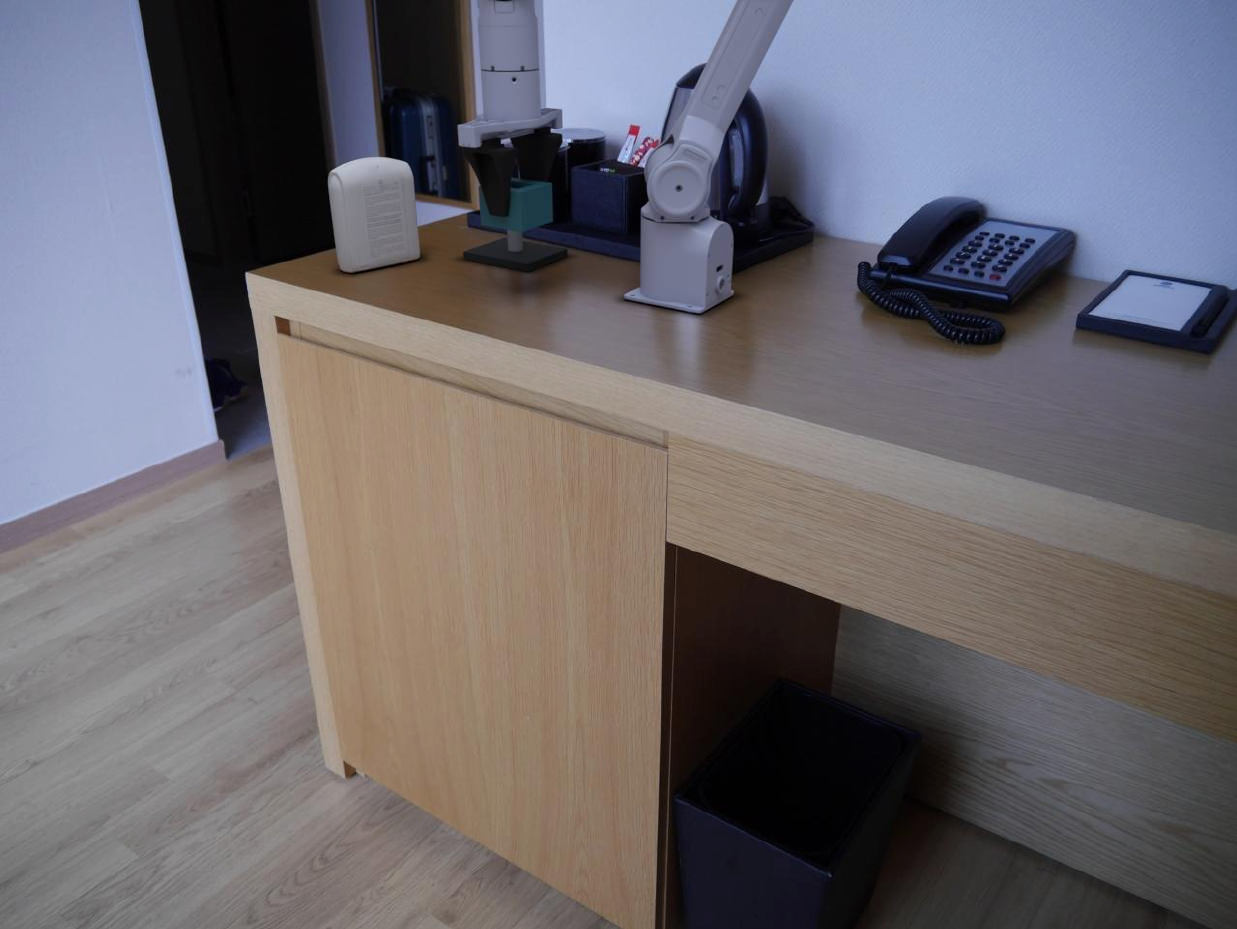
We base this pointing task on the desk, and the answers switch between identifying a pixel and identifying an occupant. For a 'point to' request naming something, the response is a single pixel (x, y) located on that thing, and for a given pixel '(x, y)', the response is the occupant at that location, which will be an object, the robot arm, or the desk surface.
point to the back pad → (515, 253)
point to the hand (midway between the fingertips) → (517, 209)
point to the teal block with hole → (522, 206)
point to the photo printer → (373, 213)
